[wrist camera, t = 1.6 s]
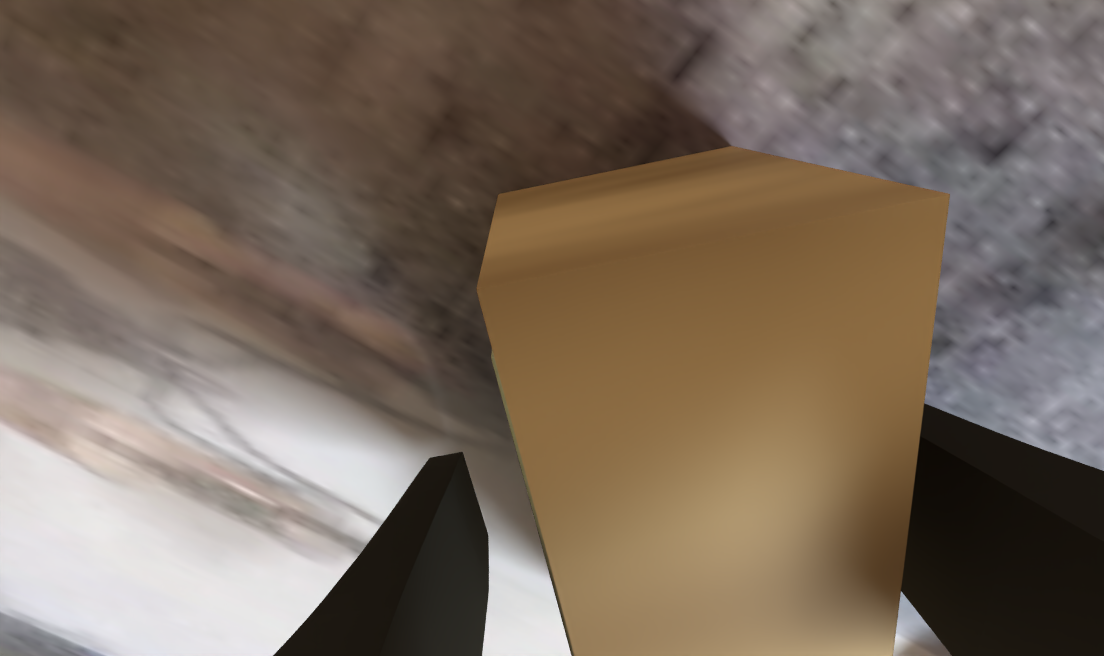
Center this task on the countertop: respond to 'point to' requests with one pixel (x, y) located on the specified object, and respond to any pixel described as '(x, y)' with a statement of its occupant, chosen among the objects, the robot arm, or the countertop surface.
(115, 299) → the countertop surface
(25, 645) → the countertop surface
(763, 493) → the tan wooden block
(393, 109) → the countertop surface
